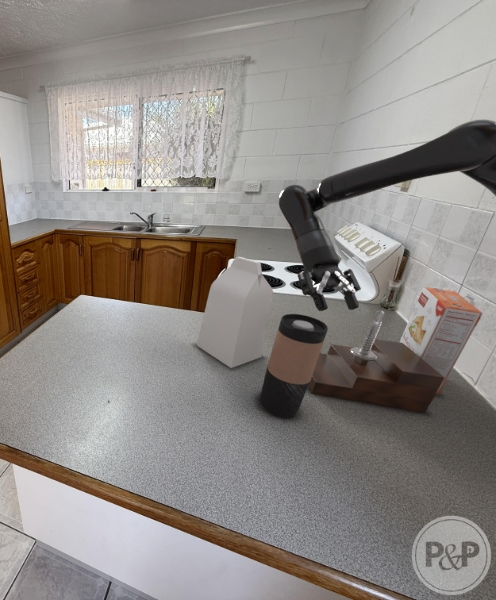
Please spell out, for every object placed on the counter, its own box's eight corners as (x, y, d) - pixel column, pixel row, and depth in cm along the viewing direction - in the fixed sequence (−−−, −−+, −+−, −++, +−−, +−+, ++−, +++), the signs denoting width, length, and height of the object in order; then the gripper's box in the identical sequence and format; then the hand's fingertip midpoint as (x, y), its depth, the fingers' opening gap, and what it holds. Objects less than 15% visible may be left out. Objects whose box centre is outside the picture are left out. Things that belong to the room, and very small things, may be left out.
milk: (196, 345, 88) (211, 256, 78) (225, 336, 93) (243, 251, 83) (231, 368, 78) (253, 269, 68) (261, 357, 83) (286, 263, 73)
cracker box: (389, 358, 84) (422, 285, 76) (419, 365, 81) (457, 290, 73) (403, 386, 73) (444, 305, 65) (439, 396, 70) (486, 312, 62)
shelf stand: (311, 393, 70) (324, 359, 67) (293, 359, 83) (303, 329, 79) (425, 412, 65) (445, 377, 61) (387, 373, 77) (402, 342, 74)
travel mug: (298, 402, 67) (327, 319, 59) (298, 425, 61) (330, 336, 53) (259, 389, 71) (281, 310, 63) (256, 410, 65) (280, 325, 57)
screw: (378, 368, 69) (355, 366, 70) (364, 356, 74) (342, 354, 74) (402, 315, 64) (376, 314, 65) (385, 306, 68) (361, 304, 69)
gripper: (302, 244, 78) (325, 305, 72) (352, 243, 80) (378, 302, 74) (282, 259, 85) (301, 315, 79) (328, 258, 87) (351, 313, 81)
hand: (339, 309), depth 76 cm, fingers open, 8 cm apart
